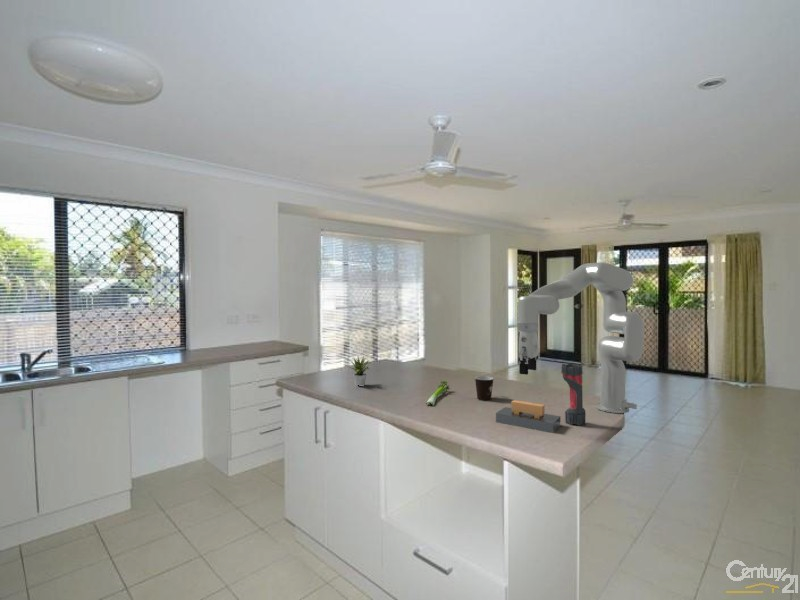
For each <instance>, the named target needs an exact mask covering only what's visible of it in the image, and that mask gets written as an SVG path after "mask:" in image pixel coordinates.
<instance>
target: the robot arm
mask: <svg viewBox="0 0 800 600" xmlns="http://www.w3.org/2000/svg"><path fill="white" fill-rule="evenodd" d="M633 284H634V277H633V274H632V273H631V272H630V271H629V270H627V269H625V268H621V267H619V266H616V265H613V264H611V263H606V262H590V263H589V262H588V263H587V262H586V263H583V264H581V265H580V266H578V267H577V268H575V269H574V270H572V271H570V272H569V273H568V274H567V275H565V276H563V277H562V278H560V279H557V280H555V281H553V282H551V283H548V284H546V285H543V286H541V287H539V288H538V289H536V290H534V291H533V292H532V293H530V294H529V295H522V296H519V297H518V300H517V332H518V333H519V335H518V337H519V338H518V357H519V358H518V363H519V365H518V366H519V371H518V372H519V374H520V375H526V376H527V375H528V374H529V370H530V371H536V370H537V357H538V356H539V354H540V353H539V335H538V333H539V314H541V315H553V314H555V313H557V311H558V310H559V309H560V302H559V300H563V299H568V298H572V297H575V296H577V295H578V294H579V293H580V292H582V291H583V290H584V289H586V288H587V287H590V285H592V286H593V287H594V288H595V289H596V290H597V291H598V292H599V294H600V295H601V297H602V300H603V301H602V302H603V316H602V317H603V319H602V320H603V322H602V323H603V324H602V326H603V329H604V330H605V331H606V332H608V333H611V334H617V335H618V334H620V335H624V336H615V335H607V336H603V337H602V338H600V340H599V341H598V345H597V348H598V354H599V359H600V397H599V398H600V402H599V403H597V404H596V408H597V409H598V410H600V411H602V412H605V411H606V412H607V413H610V412H611V414H612V413H613V414H626V413H629V412H630V409H633V410H637V409H638V404H636V403H635V402H628V399H627V398H626V366H625V364H624V362H623V361H625V362H632V363H633V362H634V363H635V362H637V361H639V360H640V359H641V358H642V356H643V353H644V352H643V351H644V335H645V334H644V333H645V323H644V320H643V318H642V316H641V315H640V314H639V313H637V312H635V311H634V312H633V311H627V301H626V296H625V294H624V292H623V291H625V292H626V291H627V290H629V289H630V288H631V287H633ZM620 408H621V409H622V410H621V409H620Z"/></svg>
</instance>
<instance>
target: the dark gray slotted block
mask: <svg viewBox="0 0 800 600" xmlns="http://www.w3.org/2000/svg"><path fill="white" fill-rule="evenodd" d="M495 422H496V423H499V422H500V424H505V425H508V426H509V425H511V426H516V427H521V428H526V429H530V428H531V430H535V429H536V430H537V431H540V432H541V431H542V432H546V431H547V432H546V433H551V432H552V434H553V432H554V433H555V432H556V431H557V430H558V429H559V428H560V427H561V416H560V415H556V414H555V415H554V414H549V413H544V415H542V418H541V419H539V418H534V414H529V413H523V412H521V415H516V414H514V411H511V407H508V406H507V407H503V408H502V409H500V410H497V412H496V413H495Z"/></svg>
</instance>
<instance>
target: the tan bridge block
mask: <svg viewBox="0 0 800 600" xmlns="http://www.w3.org/2000/svg"><path fill="white" fill-rule="evenodd" d="M510 405H511V407H510V408H511V411H514V414H516V415H521V412H523V413H529V414H534V418H539V419H541V418H542V415H544V414H545V404H541V403H534V402H530V401H522V400H516V399H514V400H512V401H511V404H510Z"/></svg>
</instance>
